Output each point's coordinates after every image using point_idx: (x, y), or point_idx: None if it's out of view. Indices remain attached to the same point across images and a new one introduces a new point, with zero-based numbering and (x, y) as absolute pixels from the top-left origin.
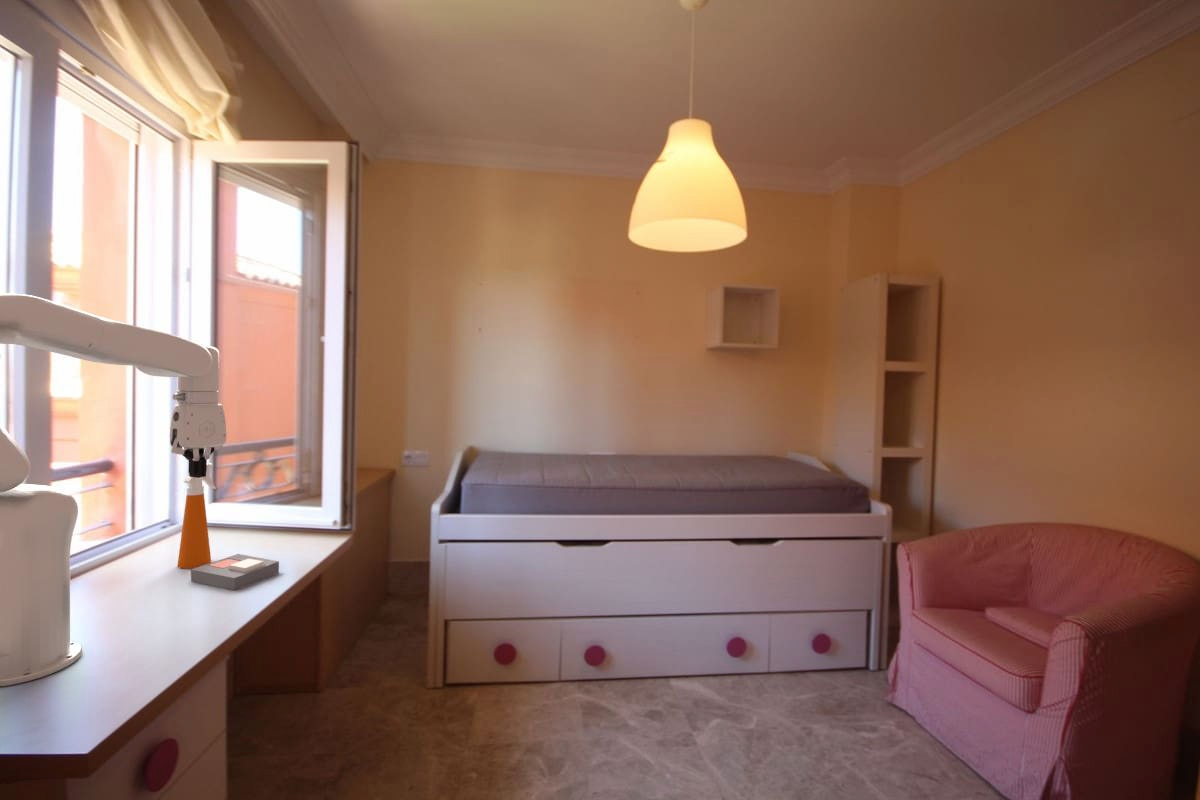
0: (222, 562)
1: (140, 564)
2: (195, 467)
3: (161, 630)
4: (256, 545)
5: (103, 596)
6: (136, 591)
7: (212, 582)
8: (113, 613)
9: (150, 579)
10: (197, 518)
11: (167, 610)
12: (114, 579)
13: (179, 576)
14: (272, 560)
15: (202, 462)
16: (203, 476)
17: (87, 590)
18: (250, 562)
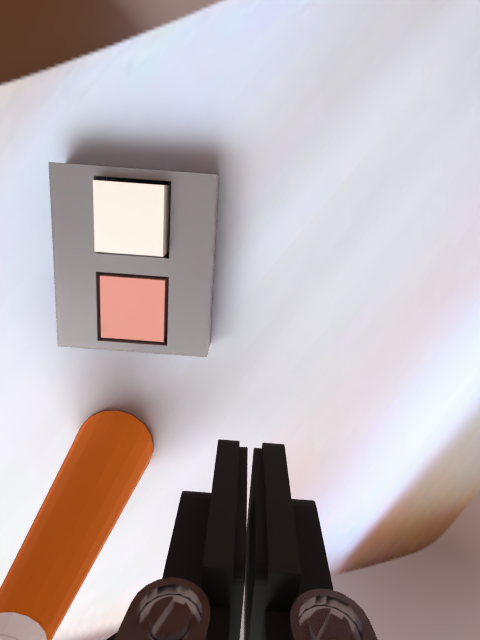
0: (131, 324)
1: None
2: (301, 542)
3: (472, 127)
4: None
5: (343, 443)
6: (300, 405)
7: (213, 264)
8: (414, 333)
9: None
10: (73, 522)
11: (372, 228)
12: None
13: (193, 401)
14: (52, 190)
15: (244, 556)
16: (238, 443)
17: (325, 503)
18: (119, 213)
